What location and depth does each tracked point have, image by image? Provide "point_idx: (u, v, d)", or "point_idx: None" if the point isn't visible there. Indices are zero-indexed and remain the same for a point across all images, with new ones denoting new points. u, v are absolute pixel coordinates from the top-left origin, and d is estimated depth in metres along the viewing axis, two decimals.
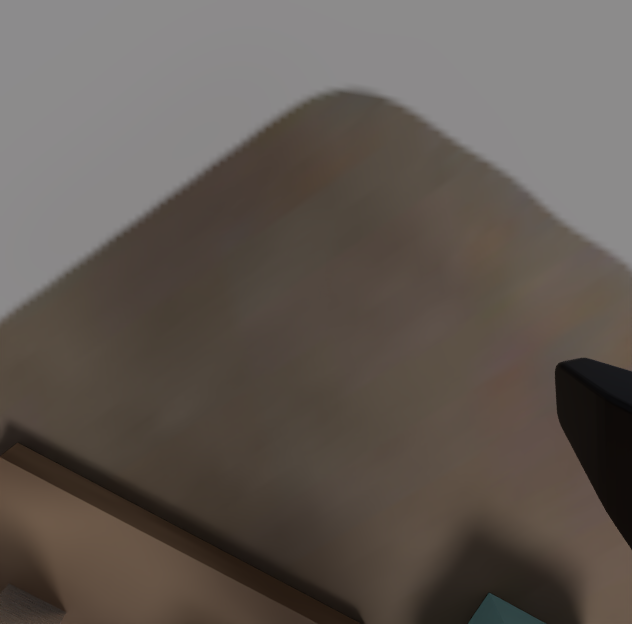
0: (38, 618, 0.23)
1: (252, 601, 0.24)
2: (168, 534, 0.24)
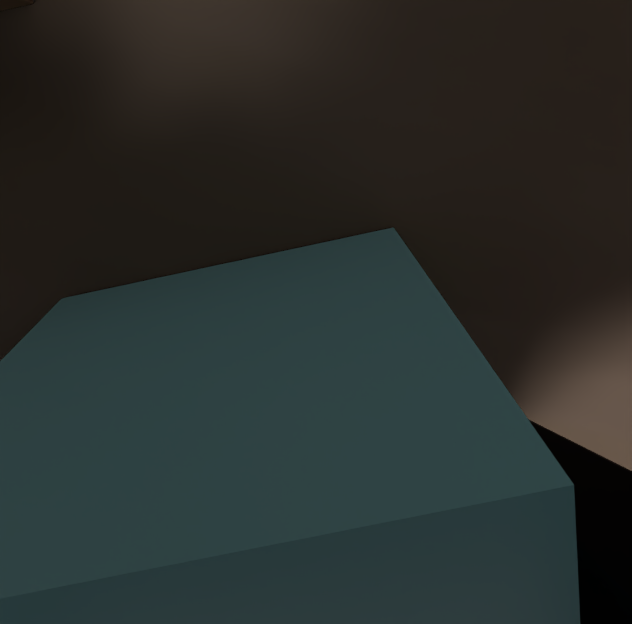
0: None
1: None
2: None
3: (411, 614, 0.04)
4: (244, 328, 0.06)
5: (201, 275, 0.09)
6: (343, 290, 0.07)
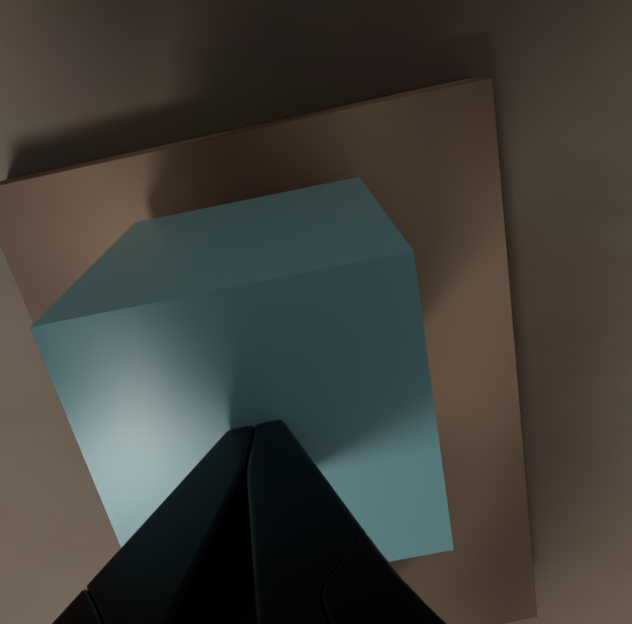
0: None
1: (510, 493, 0.18)
2: None
3: (344, 319, 0.08)
4: (262, 223, 0.11)
5: (230, 206, 0.13)
6: (322, 205, 0.11)
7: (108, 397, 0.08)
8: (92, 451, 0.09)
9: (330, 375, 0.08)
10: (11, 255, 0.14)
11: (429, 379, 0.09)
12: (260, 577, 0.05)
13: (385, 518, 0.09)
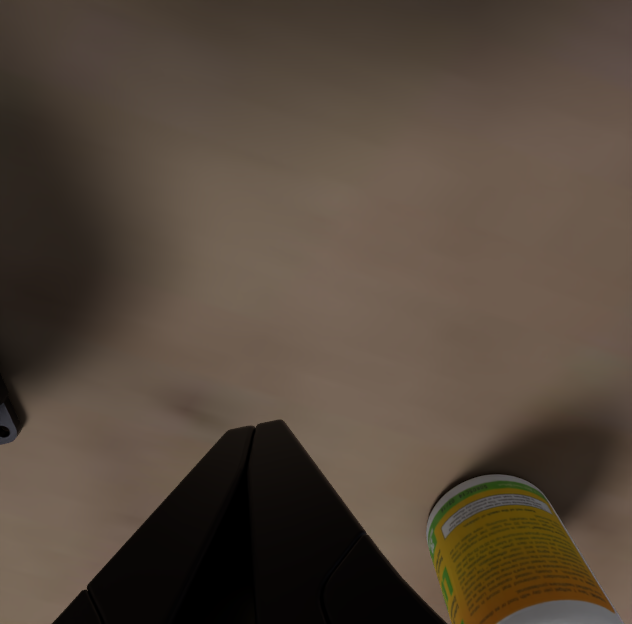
0: None
1: None
2: None
3: None
4: None
5: None
6: None
7: None
8: None
9: None
10: None
11: None
12: (261, 577, 0.05)
13: None
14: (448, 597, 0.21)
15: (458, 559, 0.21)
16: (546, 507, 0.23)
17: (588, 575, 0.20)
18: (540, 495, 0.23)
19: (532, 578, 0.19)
